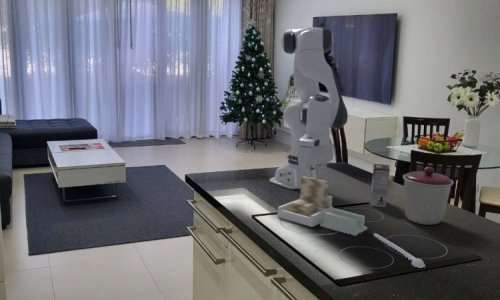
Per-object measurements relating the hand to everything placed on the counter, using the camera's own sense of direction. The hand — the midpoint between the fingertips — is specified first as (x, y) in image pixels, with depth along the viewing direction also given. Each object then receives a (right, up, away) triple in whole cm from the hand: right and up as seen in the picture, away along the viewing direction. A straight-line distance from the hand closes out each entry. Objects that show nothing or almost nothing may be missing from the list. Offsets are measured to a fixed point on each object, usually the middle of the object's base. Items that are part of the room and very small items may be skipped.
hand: (315, 175), depth 192 cm
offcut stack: (-5, -16, -2) cm, 17 cm away
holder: (+9, -18, -10) cm, 23 cm away
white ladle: (+22, -23, -29) cm, 43 cm away
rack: (-4, -16, -1) cm, 16 cm away
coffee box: (+29, -13, +22) cm, 39 cm away
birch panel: (-1, -15, +3) cm, 16 cm away
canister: (+41, -18, +2) cm, 45 cm away
